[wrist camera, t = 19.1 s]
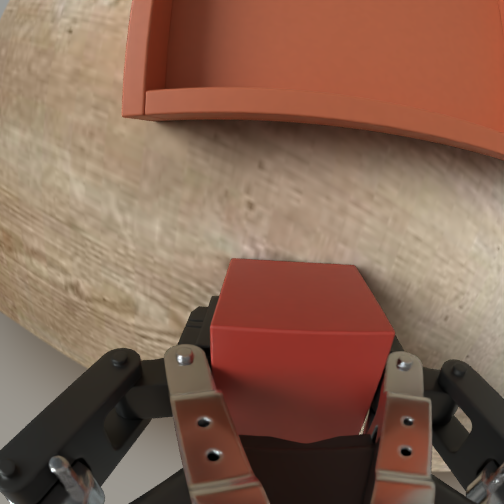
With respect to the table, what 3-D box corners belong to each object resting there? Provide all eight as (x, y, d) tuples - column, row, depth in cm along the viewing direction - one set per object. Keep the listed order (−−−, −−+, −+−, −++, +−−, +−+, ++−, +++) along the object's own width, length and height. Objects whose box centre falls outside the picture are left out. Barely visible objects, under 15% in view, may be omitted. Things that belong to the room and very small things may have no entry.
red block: (229, 357, 14) (214, 441, 10) (231, 257, 13) (208, 325, 8) (335, 362, 14) (355, 444, 9) (355, 264, 13) (397, 332, 8)
